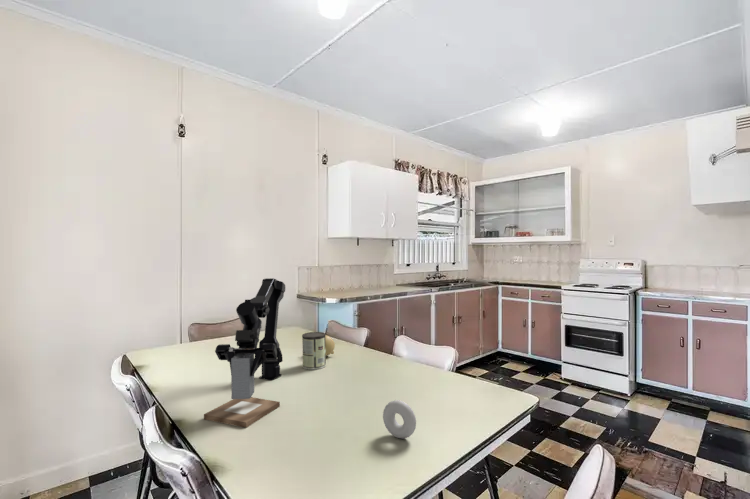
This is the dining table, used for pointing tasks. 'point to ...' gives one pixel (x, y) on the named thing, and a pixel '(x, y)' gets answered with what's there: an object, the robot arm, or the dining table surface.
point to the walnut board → (242, 411)
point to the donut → (406, 414)
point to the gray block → (242, 376)
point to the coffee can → (314, 350)
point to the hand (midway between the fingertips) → (241, 376)
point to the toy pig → (329, 345)
